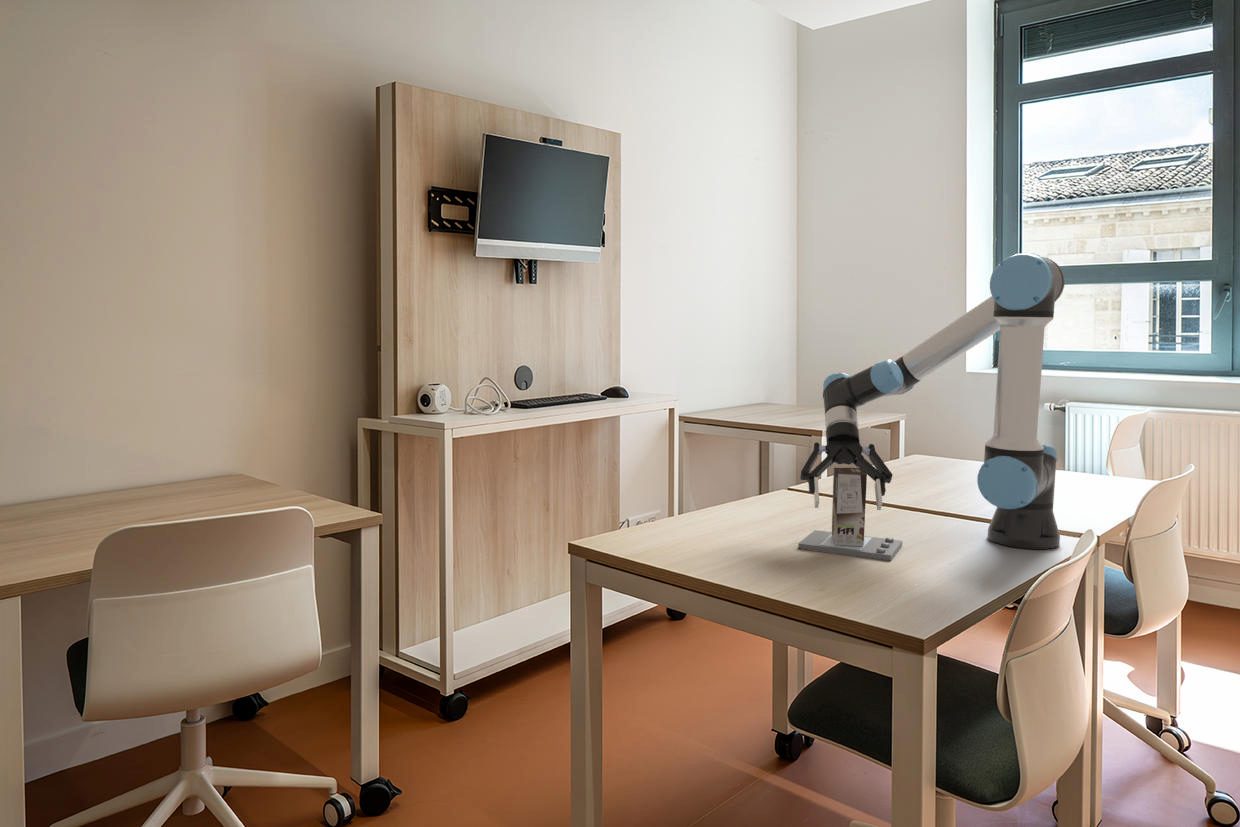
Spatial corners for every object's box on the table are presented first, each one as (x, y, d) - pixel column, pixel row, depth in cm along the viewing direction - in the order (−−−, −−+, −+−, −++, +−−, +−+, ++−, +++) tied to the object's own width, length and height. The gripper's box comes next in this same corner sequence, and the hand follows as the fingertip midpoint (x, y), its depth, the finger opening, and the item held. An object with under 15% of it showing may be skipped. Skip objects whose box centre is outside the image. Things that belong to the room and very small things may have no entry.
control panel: (902, 545, 194) (902, 538, 193) (890, 560, 181) (891, 552, 181) (814, 535, 203) (814, 527, 203) (798, 548, 190) (798, 540, 190)
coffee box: (864, 547, 187) (867, 474, 186) (834, 545, 188) (837, 473, 186) (859, 536, 196) (862, 467, 195) (830, 535, 197) (833, 466, 195)
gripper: (893, 440, 205) (903, 516, 191) (787, 438, 208) (789, 512, 195) (898, 421, 199) (909, 498, 186) (789, 418, 202) (792, 494, 189)
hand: (848, 505), depth 190 cm, fingers open, 13 cm apart
